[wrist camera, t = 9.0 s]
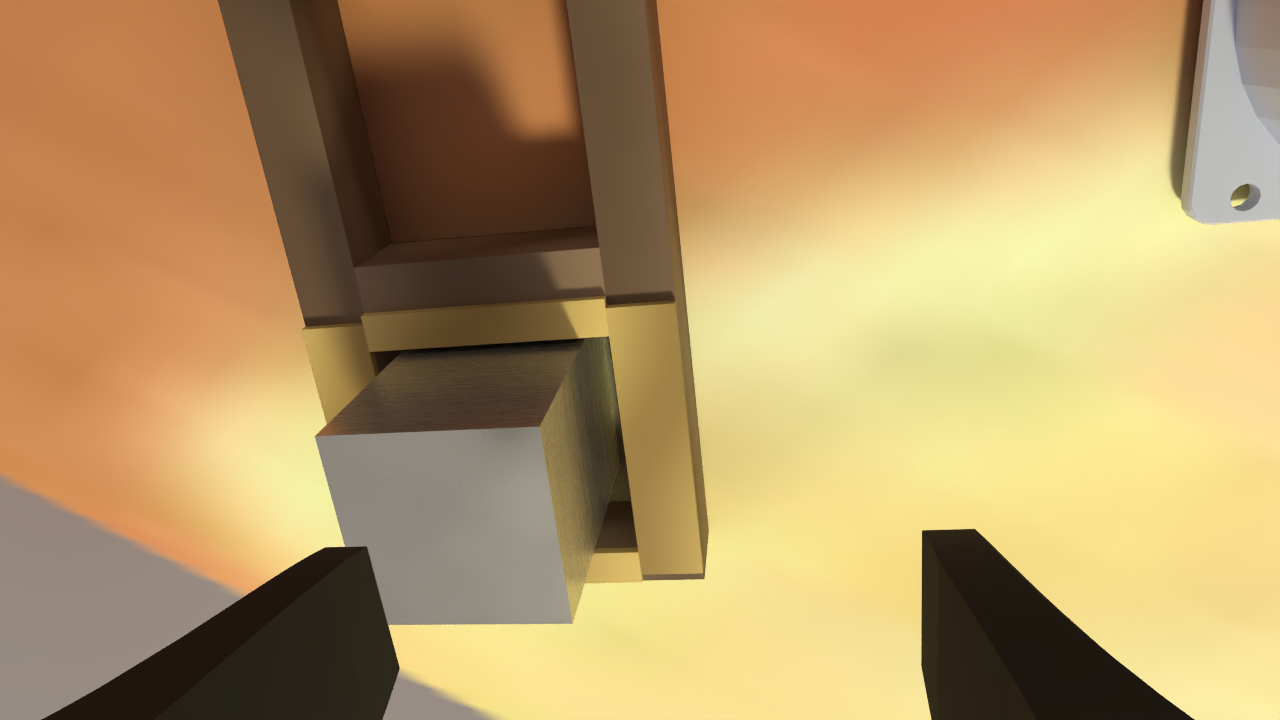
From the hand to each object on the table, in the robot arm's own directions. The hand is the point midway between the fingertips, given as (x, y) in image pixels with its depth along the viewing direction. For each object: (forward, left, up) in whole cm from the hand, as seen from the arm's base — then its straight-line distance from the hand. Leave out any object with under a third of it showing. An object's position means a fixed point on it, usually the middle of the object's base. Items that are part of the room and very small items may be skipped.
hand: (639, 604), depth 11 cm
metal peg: (+4, +1, -10) cm, 10 cm away
